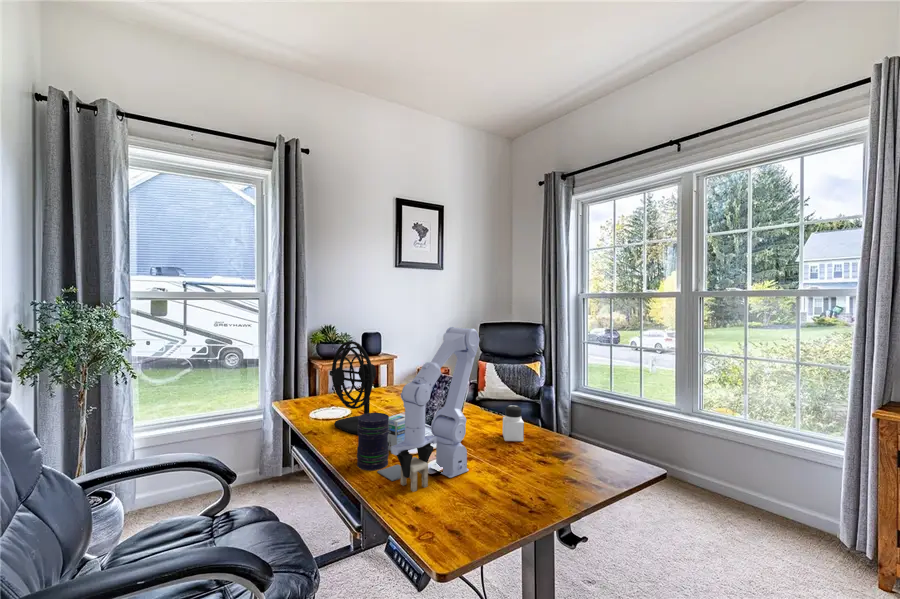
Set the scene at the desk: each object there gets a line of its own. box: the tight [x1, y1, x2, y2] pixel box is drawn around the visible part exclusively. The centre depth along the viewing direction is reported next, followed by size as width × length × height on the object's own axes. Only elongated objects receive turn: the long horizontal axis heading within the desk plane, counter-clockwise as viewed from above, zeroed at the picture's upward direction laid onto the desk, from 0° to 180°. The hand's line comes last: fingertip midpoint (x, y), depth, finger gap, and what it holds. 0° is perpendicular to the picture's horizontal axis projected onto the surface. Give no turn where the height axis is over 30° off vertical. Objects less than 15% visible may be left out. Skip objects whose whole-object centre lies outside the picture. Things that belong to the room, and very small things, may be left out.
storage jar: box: [356, 412, 390, 471], centre depth 130 cm, size 10×10×15 cm
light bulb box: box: [388, 411, 405, 452], centre depth 145 cm, size 11×7×11 cm, turn 143°
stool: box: [400, 456, 429, 493], centre depth 115 cm, size 6×5×6 cm
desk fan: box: [329, 340, 377, 435], centre depth 166 cm, size 27×18×35 cm, turn 47°
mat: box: [376, 464, 401, 482], centre depth 123 cm, size 8×8×1 cm
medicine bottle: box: [502, 405, 525, 442], centre depth 156 cm, size 7×7×12 cm
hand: (414, 473), depth 115 cm, fingers closed on stool, 5 cm apart
